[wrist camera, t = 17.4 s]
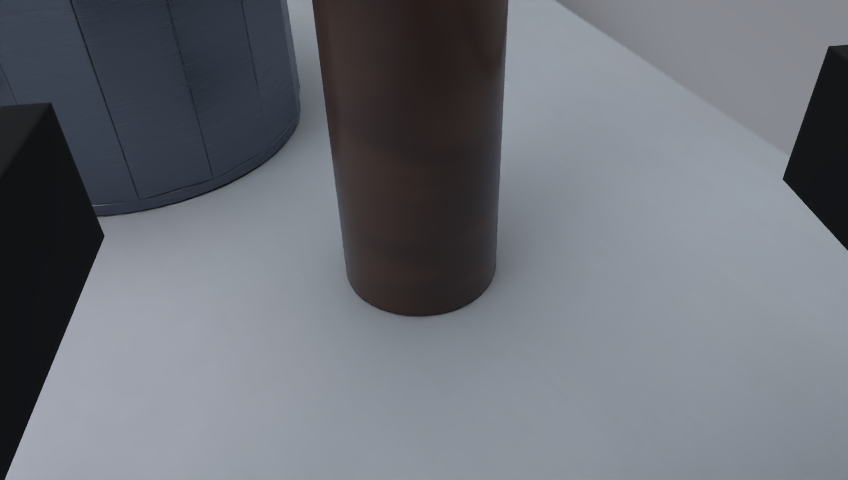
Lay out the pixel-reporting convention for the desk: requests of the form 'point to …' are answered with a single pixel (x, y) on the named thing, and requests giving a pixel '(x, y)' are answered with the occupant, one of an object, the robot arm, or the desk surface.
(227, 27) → the pot
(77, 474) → the desk surface
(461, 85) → the pepper mill
